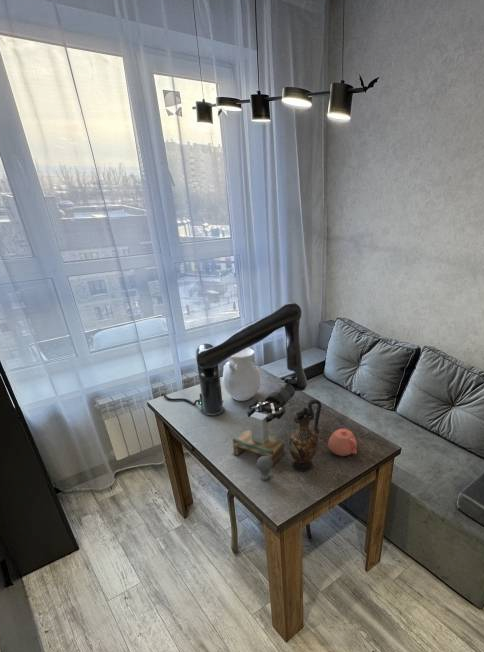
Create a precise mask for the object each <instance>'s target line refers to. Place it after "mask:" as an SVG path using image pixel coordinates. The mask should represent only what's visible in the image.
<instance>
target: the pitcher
mask: <svg viewBox="0 0 484 652" xmlns="http://www.w3.org/2000/svg"><path fill="white" fill-rule="evenodd" d="M254 357H255V350H253V349H252V348H250V347H248V348H246V349H244V350H242V351H240V352H238V353H236V354H234V355H232V356H230V357H229V358H227V360H228V361H227V362H225V364H224V365H223V368H222V369H223V371H222V385H223V387H224V389H225V391H226V392H227V394H228V396H230V397H231V398H233V399H234V400H235V401H238V402H245V401H248V400H251V398H253V397H255V395H256V393H258V391H259V390H260V388H261V374H260V370H259V368H258V367H257V366H256V362H253V359H254Z"/></svg>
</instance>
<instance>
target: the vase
mask: <svg viewBox="0 0 484 652" xmlns="http://www.w3.org/2000/svg"><path fill="white" fill-rule="evenodd" d="M313 405H317V408H316V411H315V413H314V410H313ZM321 412H322V402H320V400H318V399H311V400H310V401H308V403H307V407H303V408H302V410H300V411H299V412H297V413H296V414H295V415H294V417H293V421H294V423H295V424H299V426H298V428H295V429H293V430H292V431H290V433H289V434H288V438H287V445H288V450H289V453H290V456H291V458H292V459H293V460H294V463H293V468H294V469H295V470H297V471H299V472H304V471H308V470H310V469H311V467H312V463H311V461H312V459H314V457H315V456H316V454H317V451H318V447H319V436H318V435H319V434H320V430H319V420H320V415H321ZM313 420H314V426H313V429H312V428H310V427H309V426H310V425H309V424H310V423H311V421H313Z"/></svg>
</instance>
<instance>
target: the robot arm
mask: <svg viewBox="0 0 484 652" xmlns="http://www.w3.org/2000/svg"><path fill="white" fill-rule="evenodd" d="M301 318H302V309H301V307H300V305H299V304H298V303H296V302H291V301H289V302H287V303H285V304H283V305H282V306H281V307H279V308H278V309H276V310H274V311H272V312H271V313H269V314H268V315H265V316H263V317H260V318H257V319H255V320H253V321H251V322H249V323H247V324H245V325H243V326H241V327H239V328H238V329H236V330H235V331H234V332H232V334H230V335H229V336H228V337H226V339H225V340H223V341H222V342H220V343H219V344H217V345H212V344H211V343H202V344H200V345H198V346H197V348H196V351H195V360H196V367H197V374H198V381H199V389H200V392H199V399H196V400H194V402H192V401H191V400H189V399H187V398H170V397H168V396H167V394H165V393H162V394H160V396H161V397H164V398H165V399H166V400H168V401H185V402H187V403H189V404H190V405H191V406H196V405H197V404H198V406H200V409H201V412H203V414H205V415H206V416H217V415H220V414H222V413H223V412H224V400H223V393H222V384H221V373H220V367H219V364H221V363H222V362H224V361H225V360H228V358H229V357H230V356H232V355H234V354H236V353H238V352H240V351H242V350H244V349H246V348H250V347H252V346H254V345H256V344H258V343H260V342H261V341H263V340H264V339H266V338H267V337H269V336H270V335H272V334H273V333H274V332H276V331H278V330H279V329H282V328H284V332H285V358H286V359H285V360H286V369H287V370H288V371H290V372H293V373H294V374H295V375H288V376H286V377H285V378H284V379H283V381H282V382H281V383H282V384H281V385H280V386H279V387H278V388H277V389H275V390H274V391H272V392H271V393H270V394H268V396H267V397H266V398H265V400H263V401H259V399H255V400H253V401H252V402H251V403H250V404H248V410H247V412H246V413H247V417H248V418H250V416H251V415H252V414H253V413H255V412H259V413H267V414H268V417H267V418H266V422H268V423H270V422H272V421H273V420H274V419H277V420H280V419H281V418H282V417H283V416H284V415H285V414H286V405H287V403H289V401H290V400H291V399H292V398H293V397H294V396H295V394H296V392H303V391H305V390H306V389H307V387H308V379H307V376H306V374H305V371H304V368H303V356H302V347H301V340H300V323H301V322H300V321H301Z"/></svg>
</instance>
